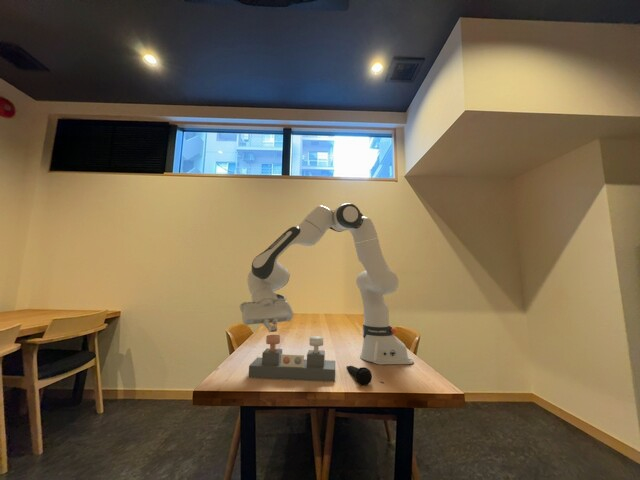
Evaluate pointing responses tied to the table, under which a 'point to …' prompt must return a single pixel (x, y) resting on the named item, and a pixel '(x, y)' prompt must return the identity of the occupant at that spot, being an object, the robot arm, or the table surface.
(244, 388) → the table surface
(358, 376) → the microphone
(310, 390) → the table surface
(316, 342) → the grey button
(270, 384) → the table surface
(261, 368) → the button console
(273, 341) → the terracotta button
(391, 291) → the robot arm
